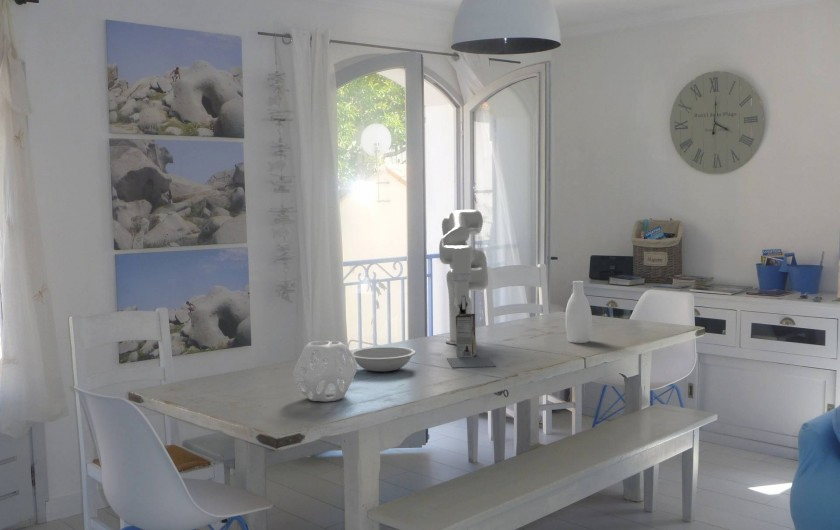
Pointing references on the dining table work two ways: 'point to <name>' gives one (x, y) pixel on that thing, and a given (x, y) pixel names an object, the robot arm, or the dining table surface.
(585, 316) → the bottle
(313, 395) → the decorative ball
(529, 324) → the dining table surface
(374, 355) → the soup bowl
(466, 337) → the coffee box
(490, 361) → the slate mat
